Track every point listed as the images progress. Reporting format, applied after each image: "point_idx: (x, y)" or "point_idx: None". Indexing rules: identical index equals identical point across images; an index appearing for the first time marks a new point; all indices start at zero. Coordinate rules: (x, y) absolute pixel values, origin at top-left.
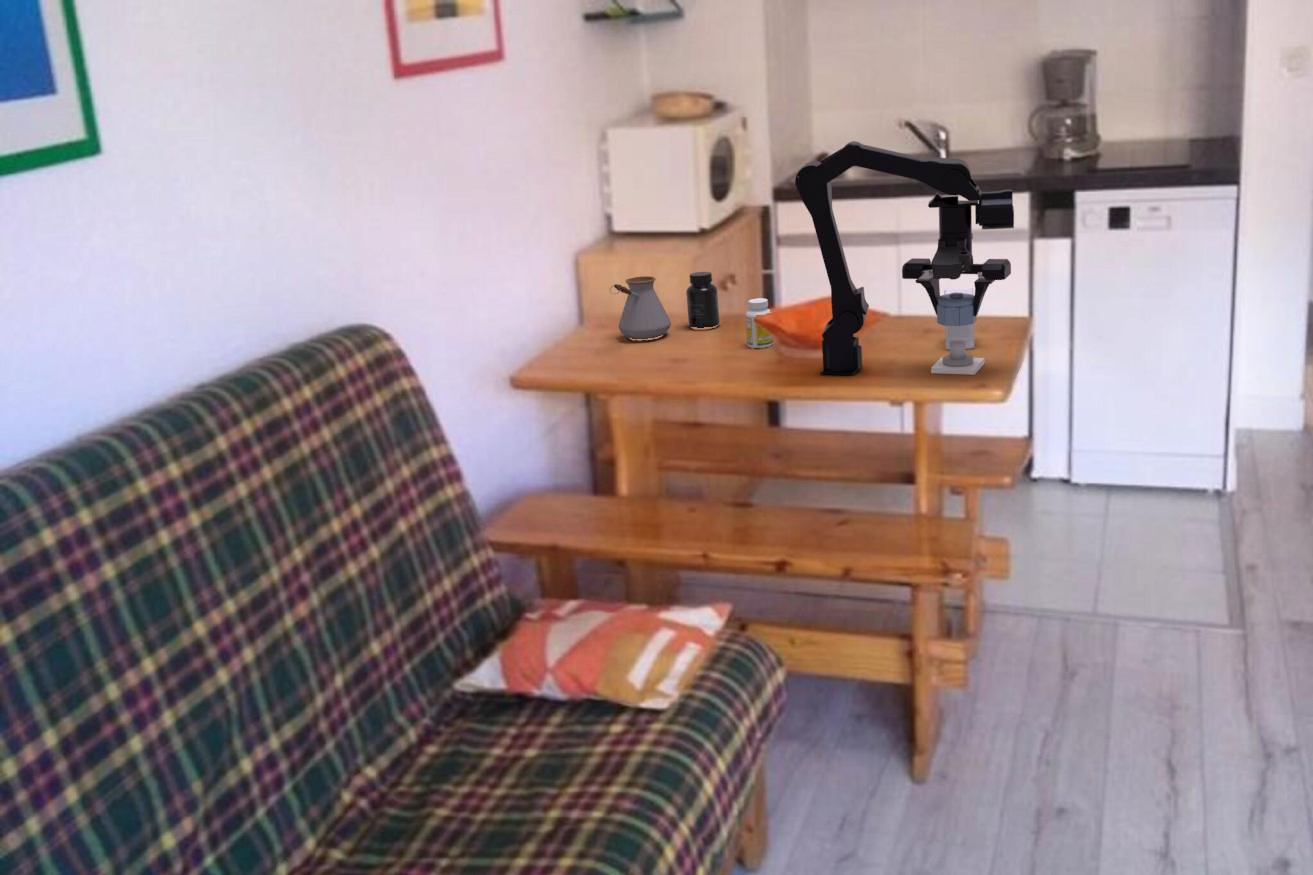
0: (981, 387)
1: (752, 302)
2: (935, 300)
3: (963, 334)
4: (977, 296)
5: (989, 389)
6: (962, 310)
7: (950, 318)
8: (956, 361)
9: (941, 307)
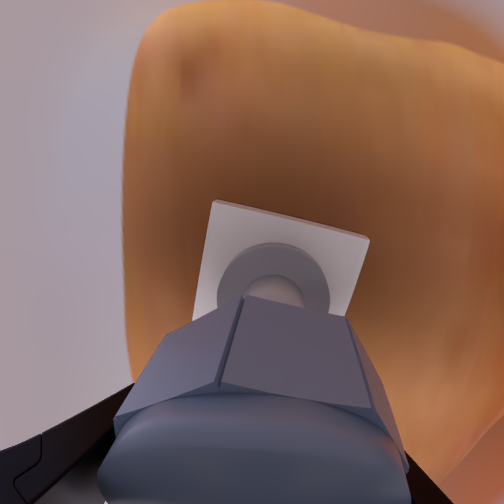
0: (190, 52)
1: None
2: (420, 500)
3: None
4: (43, 460)
5: (167, 35)
6: (195, 373)
7: (311, 339)
8: (278, 251)
9: (389, 432)
